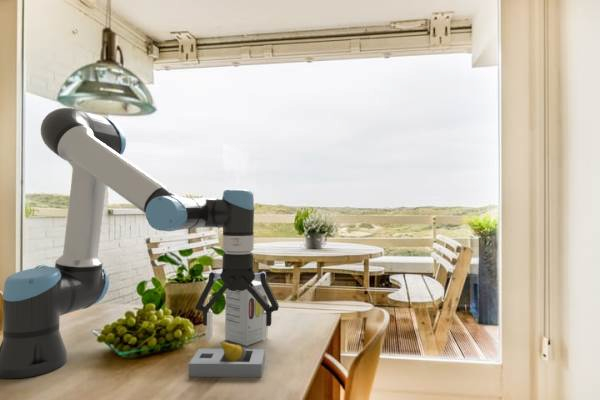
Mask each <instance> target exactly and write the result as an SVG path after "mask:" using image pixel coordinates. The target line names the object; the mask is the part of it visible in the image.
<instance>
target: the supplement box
mask: <svg viewBox="0 0 600 400" xmlns="http://www.w3.org/2000/svg"><path fill="white" fill-rule="evenodd" d="M251 283H252V284H253V285H254V286H255V288H256V289H257V291H258V292H259V293H260V294H261V295H262V297H263V298H264V299H265V300H266V301H267V303H268V304H269V299H268V297H267V295H266V293H265V291H264V288H263V286H262V284H261V282H259V281H258V280H253V281H252V282H251ZM264 311H265V310H264V309H263V308H262V306H261V305H260V304H259V303H258V302H257V300H256V299H255V298H254V297H253V296H252V294H251V293H249V291H248V290H247V289H246V290H244V291H239V290H235V291H231V290H229V289H228V288H227V289H226V290H225V312H224V313H225V318H224V319H225V321H224V322H225V324H224V325H225V327H224V328H225V329H224V340H226V341H228V342H232V343H236V344H240V345H242V346H245V347H246V346H247V347H248V346H250V345H252V344H256V343H258V342H261V341H263V313H264ZM268 327H269V326H267V335H268ZM267 339H268V337H267V338H266V340H267Z"/></svg>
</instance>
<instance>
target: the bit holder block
mask: <svg viewBox="0 0 600 400" xmlns="http://www.w3.org/2000/svg"><path fill="white" fill-rule="evenodd" d="M245 350H246V355H247V356H246V357H245V358H244V360H243V361H242V362H226V360H225V353H224V350H223V348H198V350H197V351H196V353H194V355H193V356H192V358H191V360H190V361H189V362H188V377H204V378H205V377H207V378H208V377H209V378H211V377H214V378H215V377H217V378H228V377H229V378H262V376H263V371H264V368H265V362H266V349H265V348H245Z"/></svg>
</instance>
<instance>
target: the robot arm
mask: <svg viewBox="0 0 600 400" xmlns="http://www.w3.org/2000/svg"><path fill="white" fill-rule="evenodd" d="M40 136H41V138H42V141H43V143H44V144H45V146H46V147H47V148H48V149H49V150H50V151H51V152H53V153H54V154H56V155H57V156H58V157H60V159H63V160H64V161H66V162H67V163H68V164H69V165H70V166H71V168H72V174H71V175H72V176H71V184H70V193H69V199H68V200H69V201H68V209H67V217H66V225H65V226H66V227H65V235H64V240H63V242H64V243H63V250H62V251H63V252H62V254H61V256H60V257H58V258H57V259H56V260H55V265H54V266H42V267H35V268H27V269H25V270H24V269H23V270H20V271H18V272H14V273H13V274H11V275H9V276H8V277H7V278H6V279H5V281H4V286H3V287H4V288H3V292H2V298H3V302H2V303H3V307H2V308H3V314H2V315H3V316H2V317H3V319H2V325H3V326H2V340H1V343H0V379H1V378H2V379H22V378H24V379H25V378H32V377H36V376H39V375H43V374H47V373H50V372H53V371H55V370H57V369H59V368H61V367H63V366H64V365H66V363H67V361H68V351H67V349H66V346H65V342H64V339H63V337H62V335H61V332H60V316H63V315H66V314H70V313H73V312H76V311H79V310H83V309H88V308H90V307H92V306H94V305H96V304H99V302H100V301H102V300H103V299H104V298H105V297H106V295H107V293H108V291H109V286H110V278H109V277H110V276H109V274H107V269H105V267H103V263H104V262H103V260H102V259H101V258H100V257H99V248H100V247H99V246H100V241H101V231H102V230H101V229H102V223H103V222H102V221H103V212H104V205H105V196H106V188H107V187H108V188H109V189H110V190H112V191H114V192H115V193H116V194H118V195H119V196H120V197H122V198H123V199H125V200H126V201H128V202H129V203H130V204H132V205H133V206H134V207H136V208H137V209H138V210H140V211H141V212H142V213H144V214H145V217H146V220H147V223H148V224H149V226H150V227H151V228H152V229H155V230H157V231H159V232H175V231H181V230H187V229H190V230H191V229H199V228H200V229H201V228H217V229H222V251H223V252H224V253H223V254H222V270H221V272H217V271H215V270H212V271H211V272H210V273H209V274H208V279H207V283H206V285H205V287H204V289H203V290H202V293H201V294H200V297H199V299H198V300H197V303H196V305H195V307H194V308H195V310H196V311H201V312H202V325H203V326H206V341H211V339H212V338H213V310H210V309H211V308H212V307H213V305H214V304H215V303H216V302H217V301H218V299H220V298H221V296H222V295H224V293H226V289H227V288H228V289H229V290H231V291H235V290H239V291H244V290H246V289H247V290H248V291H249V293H251V294H252V296H253V297H254V298H255V299H256V300H257V302H258V303H259V304H260V305H261V306H262V308H263V309H264V310H265V311H264V313H263V340H262V342H266V341H267V339H268V334H267V326H268V327H271V325H272V313H273V312H277V311H279V307H280V305H279V302H278V301H277V299H276V297H275V295H274V292H273V290H272V288H271V286H270V284H269V282H268V279H267V272H266V271H261V272H255V270H254V254H253V251H254V241H255V240H254V239H255V238H254V234H255V233H254V226H255V225H254V221H255V204H254V203H255V202H254V201H255V200H254V192H253V191H251V190H249V189H225V190H223V193H222V197H196V196H195V197H194V196H193V197H191V196H180V195H178V194H176V193H175V192H174V191H172V190H170V188H168V187H167V186H165V185H164V184H162V183H161V182H159V181H158V180H157V179H156V178H154V177H152V176H151V175H149V174H148V172H147V173H146V172H145V171H144V170H142V169H141V168H139V167H138V166H137V165H136V164H134V163H133V162H131V161H130V160H128V159H127V158H125V157H124V156H123V154H124V152H125V150H126V146H127V139H126V134H125V132H124V130H123V128H122V127H121V126H120V124H118V123H117V122H116V121H114V120H112V119H109V118H107V117H106V116H102V115H97V114H95V113H94V114H93V113H90V112H86V111H83V110H79V109H76V108H72V107H62V108H58V109H54V110H52V111H50V112H49V113H48V114H47V115H46V116H45V117H44V119H43V120H42V122H41V124H40ZM219 278H220V280H221V281H222V282H223V285H222V286H221V287H220V288H219V290H218V291H217V292H216V293H215V294H214V295H213V297H212V298H211V299H210V300H209V301H208V302H207V304H204V303H205V302H206V300H207V298H208V295H209V294H210V292H211V290H212V288H213V286H214V284H215V282H217V281H218V280H219ZM255 279H256V280H257V281H259V282H261V284H262V286H263V288H264V291H265V293H266V295H267V297H268V303H267V301H266V300H265V299H264V298H263V297H262V295H261V294H260V293H259V292H258V291H257V289H256V288H255V286H254V285H253V284H252V283H251V282H252V281H255ZM269 302H270V304H269ZM266 338H267V339H266Z"/></svg>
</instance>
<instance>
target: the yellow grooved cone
mask: <svg viewBox="0 0 600 400" xmlns="http://www.w3.org/2000/svg"><path fill="white" fill-rule="evenodd" d="M220 344H221V347H222V349H223V350H224V353H225V360H226V362H242V361H243V360H244V358H245V357H246V356H247V355H246V350H245V349H246V348H245V347H244V345H242V344H238V343H236V344H233V343H228V342H224V341H221V342H220Z"/></svg>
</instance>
